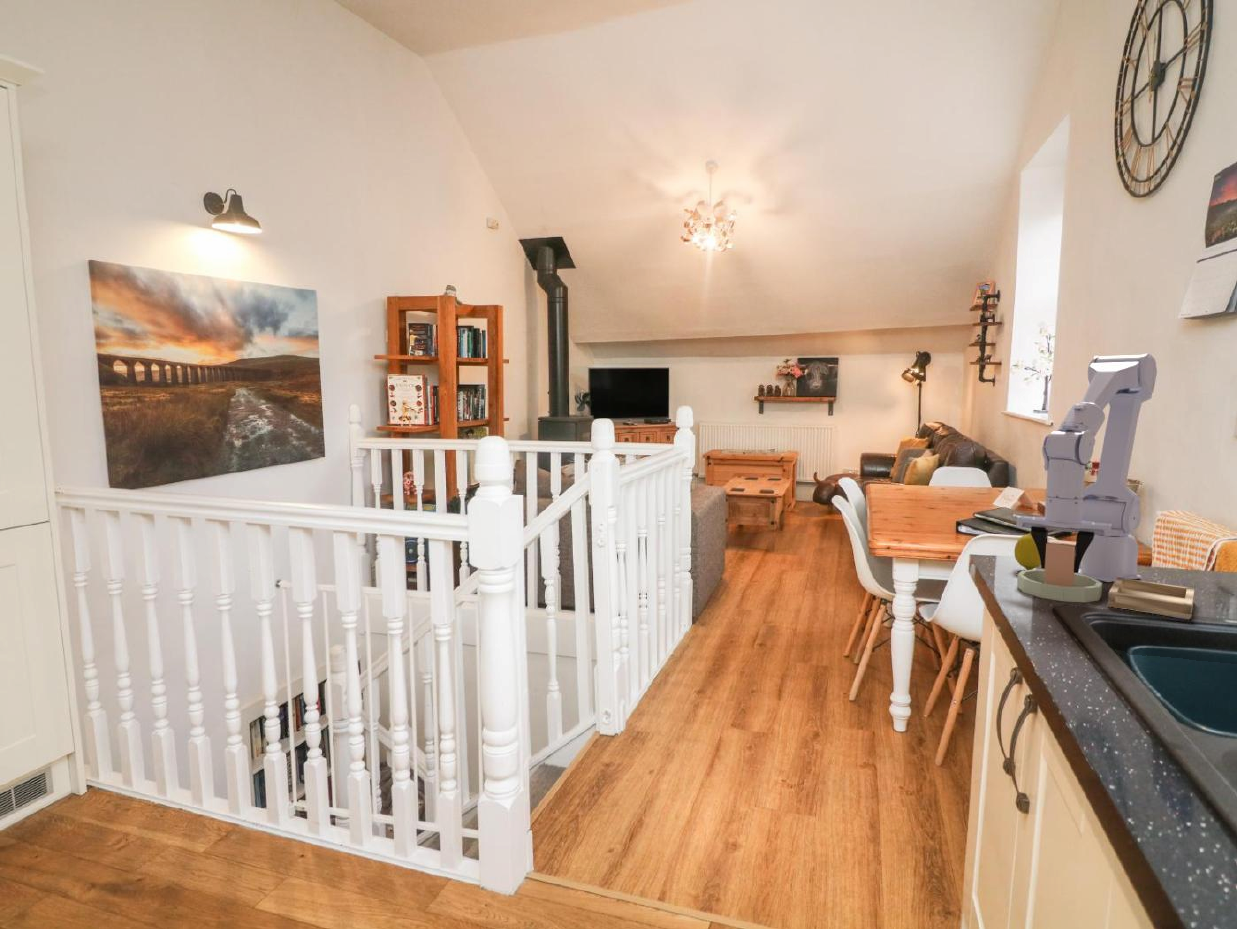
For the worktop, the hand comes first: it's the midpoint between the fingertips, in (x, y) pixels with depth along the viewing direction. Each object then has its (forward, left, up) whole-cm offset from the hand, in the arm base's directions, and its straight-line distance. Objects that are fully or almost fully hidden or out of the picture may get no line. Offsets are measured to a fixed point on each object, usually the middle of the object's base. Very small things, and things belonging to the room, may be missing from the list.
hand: (1059, 569), depth 126 cm
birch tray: (-8, +11, -4) cm, 14 cm away
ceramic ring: (0, 0, -4) cm, 4 cm away
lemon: (-8, -13, -4) cm, 16 cm away
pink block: (0, 0, -3) cm, 3 cm away
